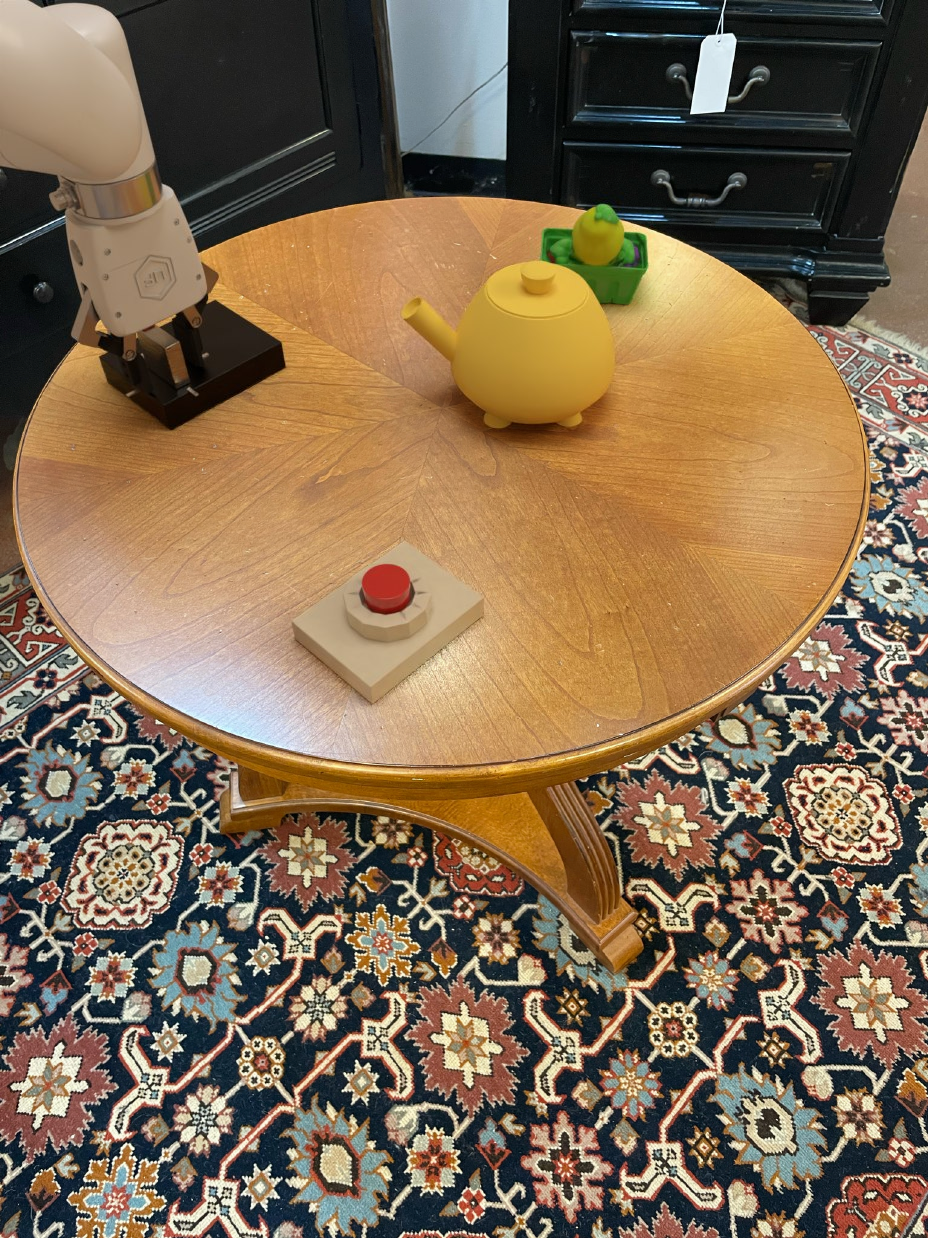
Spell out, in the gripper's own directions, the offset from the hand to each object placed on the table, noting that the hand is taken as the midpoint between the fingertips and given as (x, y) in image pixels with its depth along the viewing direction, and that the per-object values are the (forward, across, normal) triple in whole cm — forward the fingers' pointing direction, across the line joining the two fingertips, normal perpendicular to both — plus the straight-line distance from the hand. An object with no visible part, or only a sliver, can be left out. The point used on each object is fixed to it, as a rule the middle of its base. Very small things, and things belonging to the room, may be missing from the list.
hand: (167, 371), depth 91 cm
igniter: (+3, -5, -36) cm, 37 cm away
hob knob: (0, 0, 0) cm, 0 cm away
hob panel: (+3, +4, +2) cm, 6 cm away
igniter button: (0, -5, -36) cm, 36 cm away
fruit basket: (+4, +43, -17) cm, 46 cm away
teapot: (+4, +23, -23) cm, 33 cm away
